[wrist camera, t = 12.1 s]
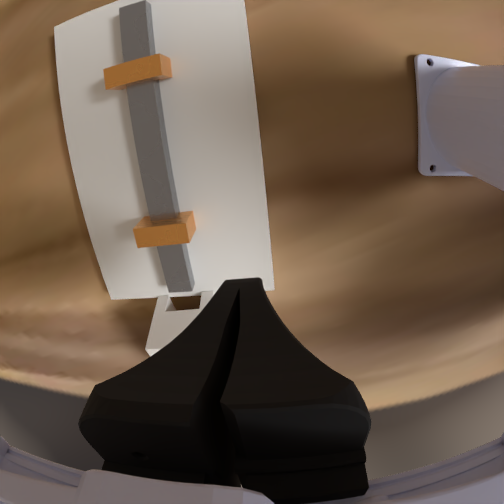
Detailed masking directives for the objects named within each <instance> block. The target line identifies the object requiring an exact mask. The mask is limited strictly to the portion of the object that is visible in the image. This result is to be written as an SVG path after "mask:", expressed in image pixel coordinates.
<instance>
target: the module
mask: <svg viewBox="0 0 504 504" xmlns="http://www.w3.org/2000/svg"><path fill="white" fill-rule="evenodd" d="M213 296H214V291H206V292H202V294H201V301H200V309H191V310H179V311H176V309H175V307H174V305H173V303H172V301H171V299H170V297H169V295H167V296H158V300H157V303H156V307H155V311H154V315H153V319H152V323H151V327H150V331H149V335H148V339H147V343H146V348H145V350H146V351H147V353H148V354H149V355H150V357H151V356H152V355H153V354H155V353H156V352H158V351H159V350H160V349H162V348H163V347H164V346H166V345H167V344H168V343H170V342H171V341H172V340H173V339H174V338H176V337H177V336H178V335H179V334H180V333H181V332H182V331H183V330H184V329H185V328H186V327H187V326H188V325H189V324H190V323H191V322H192V321H193V320H194V319H195V318H196V317H197V315H198V314H199V313H200V312H201V311H202V310H203V308H204V307H205V306H206V305H207V303H208V302H209V301H210V300H211V298H212V297H213Z"/></svg>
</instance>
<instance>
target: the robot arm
mask: <svg viewBox="0 0 504 504" xmlns="http://www.w3.org/2000/svg"><path fill="white" fill-rule="evenodd" d="M427 59H428V60H429V61H430V63H431V65H430V66H429V65H428V64H427ZM414 63H415V74H416V87H417V104H418V170H419V172H420V173H421V174H422V175H425V176H475V177H477V178H479V179H481V180H483V181H485V182H487V183H489V184H491V185H493V186H494V187H496V188H498V189H500V190H502V191H504V65H486V66H481V65H477V64H472V63H468V62H464V61H459V60H454V59H449V58H443V57H438V56H432V55H425V54H419V55H417V56H415V58H414ZM431 165H433V167H434V168H433V170H432V171H430V166H431ZM78 425H79V429H80V431H81V433H82V435H83V436H84V438H85V439H86V440H87V441H88V443H90V445H91V446H92V447H93V448H94V449H95V450H96V451H97V452H98V453H99V455H100V456H101V457H102V458H103V459H104V460H105V461H104V464H103V467H102V470H94V469H92V470H88V471H86V472H85V471H81V470H77V469H74V468H70V467H67V466H63V465H61V464H57V463H54V462H51V461H48V460H46V459H42V458H40V457H37V456H34V455H32V454H29V453H27V452H24V451H21V450H19V449H17V448H14V447H12V446H9V444H8V443H7V442H6V440H5V439H4V438H3V437H1V436H0V504H504V433H503V434H502V436H501V437H500V438H498V439H495V440H493V441H491V442H489V443H487V444H484V445H482V446H480V447H477V448H475V449H472V450H470V451H467V452H465V453H462V454H460V455H457V456H454V457H451V458H448V459H446V460H442V461H439V462H436V463H433V464H430V465H427V466H424V467H421V468H417V469H413V470H410V471H406V472H402V473H398V474H395V475H390V476H386V477H382V478H377V479H372V480H368V479H367V473H366V468H365V462H366V454H365V450H364V445H365V442H366V440H367V437H368V434H369V431H370V428H371V419H370V415H369V412H368V409H367V407H366V404H365V402H364V400H363V398H362V396H361V394H360V392H359V391H358V389H357V387H356V386H355V384H354V382H353V381H351V380H350V379H348V378H346V377H344V376H343V375H341V374H339V373H337V372H336V371H334V370H332V369H331V368H330V367H328V366H327V365H325V364H324V363H323V362H321V361H320V360H319V359H318V358H317V357H315V356H314V355H313V354H312V353H311V352H310V351H308V350H307V349H306V348H305V347H304V346H303V345H302V344H301V343H300V342H299V341H298V340H297V339H296V338H295V337H294V336H293V334H292V333H291V332H290V331H289V330H288V328H287V327H286V326H285V325H284V323H283V322H282V320H281V319H280V318H279V316H278V315H277V313H276V311H275V310H274V308H273V306H272V305H271V303H270V301H269V299H268V297H267V295H266V292H265V290H264V287H263V281H262V279H261V278H259V277H255V278H242V279H229V280H225V281H224V282H223V283H222V285H221V286H220V287H219V289H218V290H217V291H216V293H215V294H214V296H213V297H212V298H211V300H210V301H209V302H208V303H207V305H206V306H205V307H204V308H203V310H202V311H201V312H200V313H199V314H198V315H197V317H196V318H195V319H194V320H193V321H192V322H191V323H190V324H189V325H188V326H187V327H186V328H185V329H184V330H183V331H182V332H181V333H180V334H179V335H178V336H177V337H176V338H174V339H173V340H172V341H171V342H170V343H168V344H167V345H166V346H164V347H163V348H162V349H160V350H159V351H158V352H156V353H155V354H153V355H152V356H151V357H149V358H148V359H146V360H145V361H143V362H141V363H140V364H138V365H136V366H135V367H133V368H131V369H129V370H127V371H125V372H123V373H122V374H119V375H117V376H115V377H113V378H111V379H108V380H106V381H104V382H102V383H99V384H97V385H95V387H94V388H93V390H92V392H91V394H90V396H89V399H88V401H87V403H86V406H85V408H84V410H83V413H82V415H81V417H80V419H79V423H78ZM241 485H242V487H243V488H241Z"/></svg>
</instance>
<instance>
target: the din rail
mask: <svg viewBox="0 0 504 504" xmlns="http://www.w3.org/2000/svg"><path fill="white" fill-rule="evenodd" d="M119 18H120V32H121V43H122V54H123V63H121V64H118V65H115V66H112V67H108V68H105V69H103V72H104V81H105V89H106V90H123V89H126V88H127V96H128V103H129V110H130V116H131V123H132V129H133V135H134V141H135V147H136V152H137V158H138V163H139V169H140V174H141V179H142V184H143V189H144V193H145V198H146V203H147V207H148V212H149V216H145V217H143V218H142V219H141V220H140V221H139V223H138V224H137V225H136V226H135V227H134V228H133V233H134V237H135V240H136V244H137V248H144V247H154V246H157V250H158V254H159V258H160V262H161V266H162V269H163V273H164V277H165V281H166V284H167V288H168V291H169V293H174V292H191V291H193V288H194V285H195V281H194V277H193V272H192V268H191V263H190V258H189V254H188V249H187V244H186V243H190V241H191V239H192V237H193V235H194V233H195V231H196V225H195V220H194V215H193V211H186V212H180V209H179V204H178V199H177V193H176V188H175V182H174V177H173V171H172V165H171V159H170V153H169V147H168V141H167V134H166V128H165V121H164V114H163V107H162V100H161V93H160V85H159V80H163V79H168V78H172V70H171V61H170V58H169V57H167V56H164V55H162V54H160V53H159V54H156V51H155V42H154V32H153V21H152V10H151V4H150V3H149V2H147V1H146V0H143V1H140V2H137V3H133V4H130V5H127V6H124V7H121V8H119Z"/></svg>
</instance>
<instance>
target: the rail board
mask: <svg viewBox="0 0 504 504" xmlns="http://www.w3.org/2000/svg"><path fill="white" fill-rule="evenodd" d="M140 1H143V0H119V1H116V2H113V3H110V4H107V5H105V6H102V7H99V8H97V9H94V10H92V11H89V12H87V13H84V14H82V15H80V16H77V17H75V18H73V19H70V20H68V21H66V22H64V23H62V24H60V25H57V26H55V27H54V34H55V52H56V66H57V76H58V86H59V94H60V102H61V109H62V116H63V122H64V128H65V134H66V139H67V145H68V150H69V155H70V160H71V165H72V169H73V174H74V178H75V182H76V187H77V191H78V195H79V199H80V203H81V206H82V210H83V214H84V217H85V221H86V225H87V228H88V231H89V235H90V238H91V241H92V245H93V248H94V251H95V254H96V257H97V260H98V263H99V266H100V269H101V272H102V275H103V278H104V281H105V284H106V286H107V289H108V292H109V295H110V297H111V300H113V299H140V298H158V296H167V295H169V297H181V296H199V295H201V294H202V292H206V291H214V294H215V293H216V291H217V290H218V289H219V287H220V286H221V285H222V283H223V282H224V281H225V280H229V279H242V278H255V277H259V278H261V279H262V281H263V287H264V290H265V291H270V290H275V289H274V275H273V263H272V252H271V241H270V230H269V219H268V209H267V198H266V188H265V178H264V168H263V158H262V148H261V139H260V129H259V120H258V111H257V102H256V93H255V84H254V75H253V67H252V58H251V50H250V42H249V34H248V26H247V18H246V10H245V2H244V0H146V1H147V2H149V3H150V4H151V10H152V21H153V32H154V42H155V51H156V54H159V53H160V54H162V55H164V56H167V57H169V58H170V61H171V70H172V78H168V79H163V80H159V85H160V93H161V100H162V107H163V114H164V121H165V128H166V134H167V141H168V147H169V153H170V159H171V165H172V171H173V177H174V182H175V188H176V193H177V199H178V204H179V209H180V212H186V211H193V215H194V220H195V225H196V231H195V233H194V235H193V237H192V239H191V241H190V243H186V244H187V249H188V254H189V258H190V263H191V268H192V272H193V277H194V281H195V285H194V288H193V291H191V292H174V293H169V291H168V288H167V284H166V281H165V277H164V273H163V269H162V266H161V262H160V258H159V254H158V250H157V246H154V247H144V248H137V244H136V240H135V237H134V233H133V228H134V227H135V226H136V225H137V224H138V223H139V221H140V220H141V219H142V218H143V217H145V216H149V212H148V207H147V203H146V198H145V193H144V189H143V184H142V179H141V174H140V169H139V163H138V158H137V152H136V147H135V141H134V135H133V129H132V123H131V116H130V110H129V103H128V96H127V88H126V89H123V90H106V89H105V81H104V72H103V69H105V68H108V67H112V66H115V65H118V64H121V63H123V54H122V43H121V32H120V18H119V8H121V7H124V6H127V5H130V4H133V3H137V2H140Z"/></svg>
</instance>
